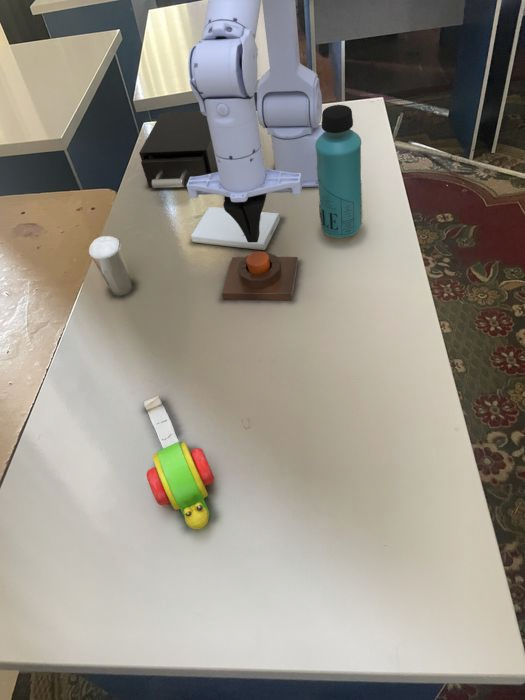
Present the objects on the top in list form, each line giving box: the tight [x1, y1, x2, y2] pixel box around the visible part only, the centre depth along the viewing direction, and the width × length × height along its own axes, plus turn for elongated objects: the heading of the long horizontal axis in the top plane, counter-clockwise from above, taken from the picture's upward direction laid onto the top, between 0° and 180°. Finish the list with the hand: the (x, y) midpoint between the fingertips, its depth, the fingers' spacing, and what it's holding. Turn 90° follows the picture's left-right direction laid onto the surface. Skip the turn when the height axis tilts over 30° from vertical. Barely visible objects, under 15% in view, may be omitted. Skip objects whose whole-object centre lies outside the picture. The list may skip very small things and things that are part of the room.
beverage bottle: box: [315, 104, 364, 239], centre depth 81 cm, size 6×7×20 cm
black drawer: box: [140, 154, 208, 189], centre depth 103 cm, size 18×11×5 cm, turn 171°
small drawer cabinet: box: [138, 110, 218, 174], centre depth 106 cm, size 14×12×7 cm
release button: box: [247, 250, 270, 274], centre depth 81 cm, size 3×3×2 cm
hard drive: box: [190, 206, 281, 251], centre depth 92 cm, size 2×8×12 cm
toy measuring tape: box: [143, 395, 215, 530], centre depth 62 cm, size 6×20×7 cm, turn 24°
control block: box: [221, 251, 299, 301], centre depth 83 cm, size 10×8×3 cm
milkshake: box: [88, 235, 133, 297], centre depth 83 cm, size 4×5×10 cm
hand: (253, 237), depth 78 cm, fingers closed
